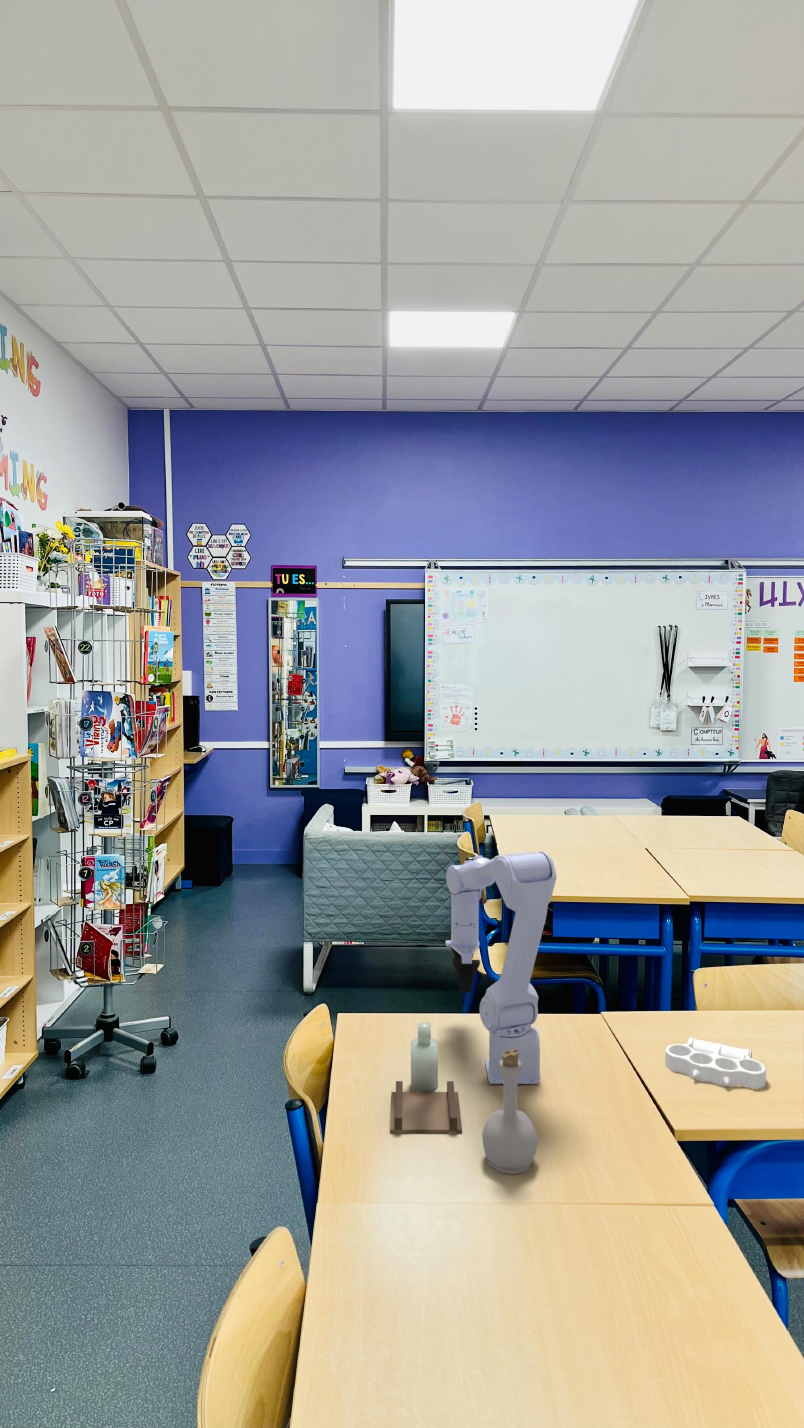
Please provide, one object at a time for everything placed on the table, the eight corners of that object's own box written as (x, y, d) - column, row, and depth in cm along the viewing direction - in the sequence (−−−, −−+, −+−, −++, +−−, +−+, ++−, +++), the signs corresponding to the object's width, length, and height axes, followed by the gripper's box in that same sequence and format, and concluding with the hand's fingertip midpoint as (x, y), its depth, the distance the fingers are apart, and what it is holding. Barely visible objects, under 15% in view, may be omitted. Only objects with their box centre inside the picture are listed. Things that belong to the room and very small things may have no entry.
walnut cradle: (457, 1095, 151) (457, 1081, 151) (462, 1133, 139) (462, 1118, 139) (391, 1095, 151) (391, 1081, 151) (390, 1133, 139) (390, 1118, 139)
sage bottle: (437, 1078, 157) (437, 1019, 156) (438, 1092, 152) (438, 1031, 151) (410, 1078, 157) (410, 1019, 156) (410, 1092, 152) (410, 1031, 151)
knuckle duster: (769, 1066, 162) (762, 1101, 149) (673, 1045, 171) (659, 1077, 158) (769, 1049, 162) (763, 1083, 149) (673, 1029, 170) (660, 1060, 157)
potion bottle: (536, 1181, 126) (538, 1066, 125) (478, 1174, 128) (479, 1061, 127) (539, 1148, 135) (540, 1040, 133) (484, 1141, 136) (484, 1035, 135)
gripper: (444, 910, 181) (444, 971, 182) (447, 933, 167) (446, 999, 168) (476, 910, 181) (476, 971, 182) (482, 933, 167) (482, 999, 168)
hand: (464, 985), depth 175 cm, fingers open, 7 cm apart
